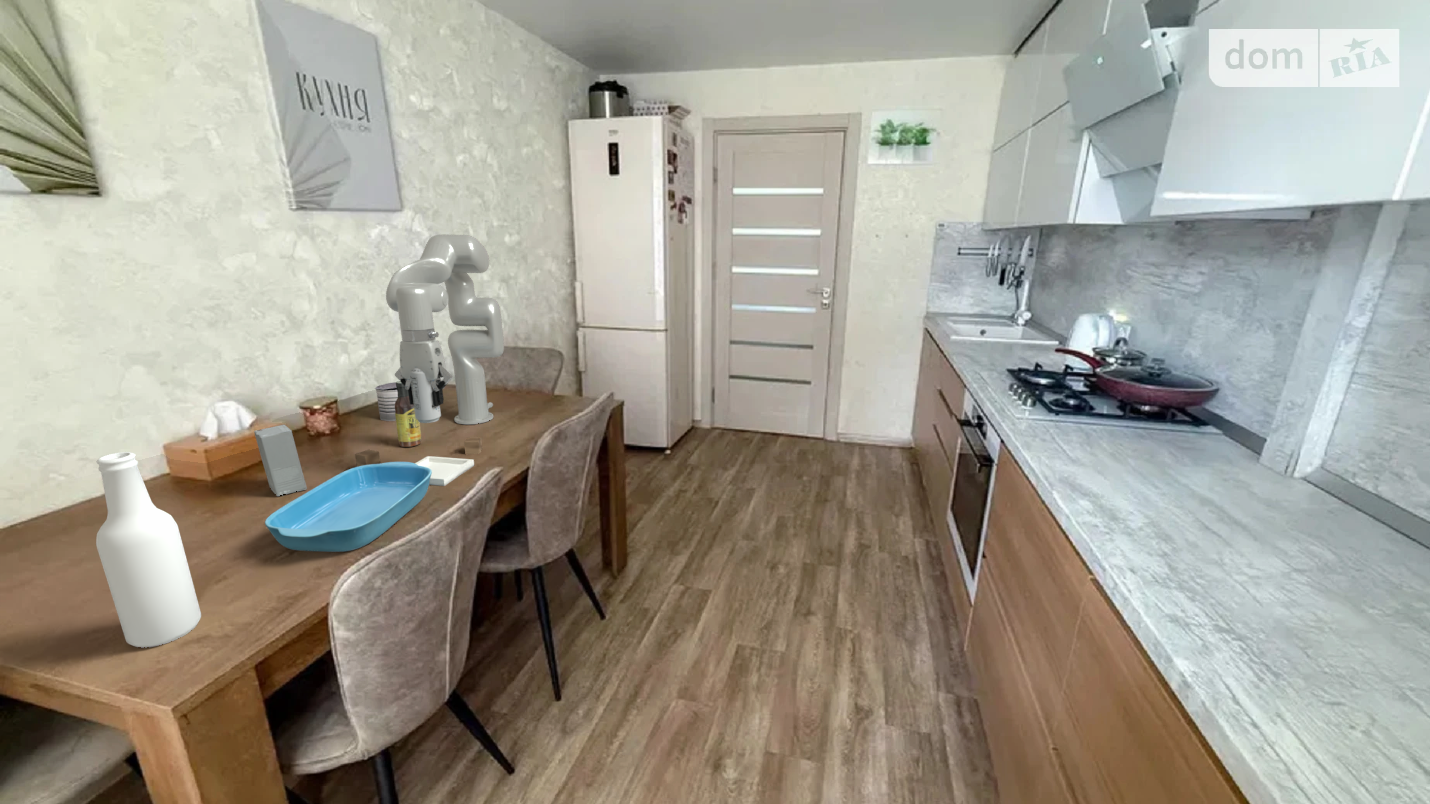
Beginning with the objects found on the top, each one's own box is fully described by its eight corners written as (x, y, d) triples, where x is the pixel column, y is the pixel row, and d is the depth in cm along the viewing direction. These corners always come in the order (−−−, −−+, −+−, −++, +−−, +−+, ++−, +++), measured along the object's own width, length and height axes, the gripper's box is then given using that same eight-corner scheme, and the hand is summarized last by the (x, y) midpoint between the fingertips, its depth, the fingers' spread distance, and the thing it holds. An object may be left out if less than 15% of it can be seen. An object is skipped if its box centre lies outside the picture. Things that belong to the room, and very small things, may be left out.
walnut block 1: (371, 466, 157) (368, 449, 156) (381, 468, 156) (378, 451, 154) (357, 471, 154) (354, 454, 152) (367, 473, 152) (365, 456, 151)
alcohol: (111, 645, 87) (53, 464, 79) (174, 610, 96) (127, 443, 87) (156, 654, 86) (101, 470, 77) (216, 618, 94) (173, 448, 86)
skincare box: (307, 490, 142) (296, 430, 137) (272, 498, 137) (259, 436, 132) (299, 480, 147) (288, 422, 143) (265, 488, 142) (252, 428, 138)
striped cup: (395, 422, 194) (391, 389, 191) (371, 418, 198) (366, 385, 194) (423, 414, 204) (419, 381, 201) (399, 410, 208) (395, 378, 205)
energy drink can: (440, 422, 148) (433, 366, 144) (414, 424, 145) (407, 367, 141) (442, 415, 153) (435, 361, 149) (417, 417, 151) (410, 362, 147)
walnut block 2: (468, 450, 171) (466, 437, 170) (482, 449, 171) (481, 436, 170) (465, 454, 167) (464, 442, 166) (479, 454, 168) (478, 441, 167)
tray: (428, 462, 161) (427, 456, 160) (474, 465, 159) (473, 459, 158) (394, 481, 147) (393, 475, 147) (444, 485, 145) (443, 479, 145)
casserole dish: (357, 567, 109) (351, 534, 108) (245, 563, 110) (237, 530, 108) (449, 488, 145) (446, 462, 143) (364, 485, 146) (360, 459, 144)
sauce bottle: (415, 448, 171) (406, 384, 165) (394, 447, 171) (385, 384, 166) (426, 441, 177) (418, 379, 172) (406, 440, 177) (398, 379, 172)
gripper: (458, 335, 146) (465, 402, 150) (397, 332, 148) (406, 398, 153) (440, 339, 138) (448, 410, 143) (376, 336, 141) (386, 406, 146)
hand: (426, 403), depth 148 cm, fingers closed on energy drink can, 6 cm apart
